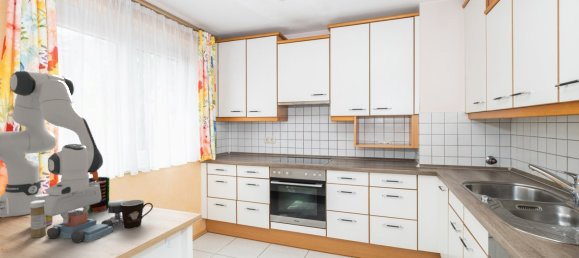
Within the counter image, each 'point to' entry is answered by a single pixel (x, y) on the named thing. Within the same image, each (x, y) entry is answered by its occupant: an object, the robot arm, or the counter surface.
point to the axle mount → (117, 218)
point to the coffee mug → (133, 213)
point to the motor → (104, 193)
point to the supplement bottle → (48, 218)
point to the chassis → (81, 230)
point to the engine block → (76, 218)
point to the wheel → (115, 206)
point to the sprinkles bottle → (38, 219)
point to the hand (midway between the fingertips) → (75, 219)
